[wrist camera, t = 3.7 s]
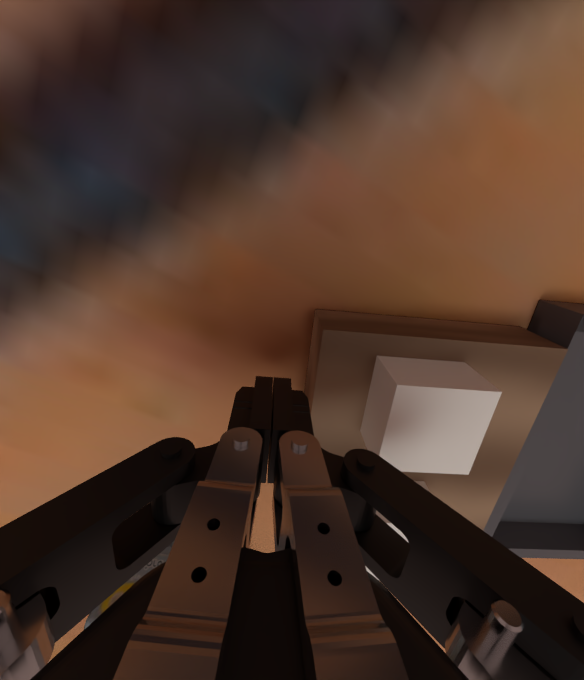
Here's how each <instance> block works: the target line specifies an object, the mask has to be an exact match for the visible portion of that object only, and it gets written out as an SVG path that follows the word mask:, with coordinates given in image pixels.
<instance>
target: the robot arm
mask: <svg viewBox="0 0 584 680" xmlns="http://www.w3.org/2000/svg"><path fill="white" fill-rule="evenodd" d="M272 384H273V392H272ZM268 454H269V457H268ZM267 464H268V482H267V483H274V491H273V500H272V509H273V524H274V540H275V552H272V553H262V552H259V551H256V550H253V549H250V542H251V536H252V530H253V524H254V518H255V512H256V505H257V498H258V496H259V493H260V485H261V483H266V474H267ZM148 503H149V504H148ZM138 510H139V511H138ZM376 511H378V512H379V513H380V514H381V515H383V516H384V517H385V518H386V519H387V520H388V521H389V522H391V523H392V524H393V525H394V526H395V527H396V528H398V529H399V530H400V531H401V532H402V533H403V534H404V535H405V537H406V538H407V540H408V542H409V543H408V542H407V541H406V540H405V539H404V538H403V537H402V536H400V535H399V534H398V533H397V532H396V531H395V530H394V529H392V528H391V527H390V526H389V525H388V524H387V523H386V522H384V521H383V520H382V519H381V518H380V517H379V516H378V515H377V514H376ZM135 512H136V513H135ZM125 519H126V520H125ZM173 542H174V543H173ZM171 543H173V546H172V548H171V551H170V553H169V556H168V558H167V561H166V562H164V563H162V564H160V565H159V566H157V567H155V568H154V569H152V570H151V571H149V572H148V573H147V574H145V575H144V576H143V577H141V578H140V579H139V580H138V581H137V582H136V583H134V584H133V585H132V586H131V587H130V588H129V589H128V590H127V591H126V592H125V593H124V594H123V595H121V596H120V597H119V598H118V599H117V600H116V601H115V602H114V603H113V604H112V605H111V606H109V607H108V608H107V609H106V610H105V611H104V612H103V613H102V614H101V615H100V616H99V617H98V618H96V619H95V620H94V621H93V622H92V623H91V624H90V625H89V626H88V627H87V628H86V629H84V630H83V631H82V632H81V633H80V634H79V635H78V636H77V637H76V638H75V639H74V640H73V641H71V642H70V643H69V644H68V645H67V646H66V647H65V648H64V649H63V650H62V651H61V652H59V653H58V654H57V655H56V656H55V657H54V658H53V659H52V660H51V661H50V662H49V663H48V661H49V660H50V657H51V655H52V652H53V648H54V644H55V642H56V641H58V640H59V639H60V638H61V637H62V636H63V635H65V634H66V633H67V632H68V631H69V630H71V629H72V628H73V627H74V626H75V625H76V624H78V623H79V622H80V621H81V620H82V619H83V618H85V617H86V616H87V615H88V614H89V613H90V612H92V611H93V610H94V609H95V608H96V607H97V606H99V605H100V604H101V603H102V602H103V601H105V600H106V599H107V598H108V597H109V596H110V595H112V594H113V593H114V592H115V591H116V590H117V589H119V588H120V587H121V586H122V585H123V584H124V583H126V582H127V581H128V580H129V579H130V578H131V577H133V576H134V575H135V574H136V573H137V572H139V571H140V570H141V569H142V568H143V567H144V566H146V565H147V564H148V563H149V562H150V561H151V560H153V559H154V558H155V557H156V556H157V555H158V554H160V553H161V552H162V551H163V550H164V549H165V548H167V547H168V546H169V545H170V544H171ZM365 566H366V567H367V568H368V569H369V570H370V571H371V572H372V573H373V574H374V575H375V576H376V577H377V578H378V579H379V580H380V581H379V580H378V579H376V578H375V577H374V576H373V575H372V574H370V573H369V572H367V570H366V567H365ZM389 591H390V592H391V593H392V594H393V595H394V596H395V597H396V598H397V599H398V600H399V601H400V602H401V603H402V605H403V606H404V607H405V608H406V609H407V610H408V611H409V612H410V613H411V614H412V615H413V616H414V617H415V618H416V619H417V620H418V621H419V622H420V623H421V624H422V625H423V626H424V628H425V629H426V630H427V631H428V632H429V633H430V634H431V635H432V636H433V637H434V638H435V639H436V640H437V641H438V642H439V643H440V644H441V645H442V646H443V647H444V648H445V650H446V653H445V652H444V651H443V650H442V649H441V648H440V647H439V646H438V645H437V644H436V642H435V641H434V640H433V639H432V638H431V637H430V636H429V635H428V634H427V632H426V631H425V630H424V629H423V628H422V627H421V626H420V625H419V624H418V623H417V621H416V620H415V619H414V618H413V617H412V616H411V615H410V614H409V613H408V611H407V610H406V609H405V608H404V607H403V606H402V605H401V604H400V603H399V602H398V600H397V599H396V598H395V597H394V596H393V595H392V594H391V593H390V592H389ZM47 663H48V664H47ZM0 680H584V603H583V602H581V601H580V600H579V599H577V598H576V597H575V596H573V595H572V594H570V593H569V592H568V591H566V590H565V589H563V588H562V587H561V586H559V585H558V584H556V583H555V582H554V581H552V580H551V579H550V578H548V577H547V576H545V575H544V574H543V573H541V572H540V571H538V570H537V569H536V568H534V567H533V566H531V565H530V564H529V563H527V562H526V561H525V560H523V559H522V558H520V557H519V556H518V555H516V554H515V553H513V552H512V551H511V550H509V549H508V548H506V547H505V546H504V545H502V544H501V543H500V542H498V541H497V540H495V539H494V538H493V537H491V536H490V535H488V534H487V533H486V532H484V531H483V530H481V529H480V528H479V527H477V526H476V525H475V524H473V523H472V522H470V521H469V520H468V519H466V518H465V517H463V516H462V515H461V514H459V513H458V512H456V511H455V510H454V509H452V508H451V507H450V506H448V505H447V504H445V503H444V502H443V501H441V500H440V499H438V498H437V497H436V496H434V495H433V494H431V493H430V492H429V491H427V490H426V489H425V488H423V487H422V486H420V485H419V484H418V483H416V482H415V481H413V480H412V479H411V478H409V477H408V476H406V475H405V474H404V473H402V472H401V471H400V470H398V469H397V468H395V467H394V466H393V465H391V464H390V463H388V462H387V461H386V460H384V459H383V458H381V457H380V456H379V455H377V454H376V453H374V452H372V451H369V450H366V449H352V450H350V451H348V452H347V453H346V454H345V456H344V457H342V456H339V455H336V454H332V453H330V452H328V451H326V450H324V449H323V448H321V446H320V443H319V441H318V440H317V438H316V437H314V432H313V426H312V420H311V414H310V408H309V401H308V397H307V396H306V395H305V394H304V393H303V391H297V390H292V388H291V379H289V378H275V377H274V382H273V377H261V376H256V380H255V387H242V388H241V389H240V390H239V391H238V392H237V393H236V396H235V400H234V404H233V408H232V413H231V417H230V421H229V425H228V430H227V431H226V432H225V433H224V434H223V435H222V436H221V438H220V441H219V442H217V443H215V444H213V445H210V446H207V447H201V448H196V449H195V447H194V445H193V443H192V442H191V441H189V440H187V439H185V438H179V437H172V438H167V439H163V440H161V441H159V442H157V443H155V444H153V445H151V446H149V447H148V448H146V449H144V450H142V451H140V452H138V453H137V454H135V455H133V456H131V457H129V458H127V459H126V460H124V461H122V462H120V463H118V464H116V465H115V466H113V467H111V468H109V469H107V470H105V471H104V472H102V473H100V474H98V475H96V476H94V477H93V478H91V479H89V480H87V481H85V482H83V483H81V484H80V485H78V486H76V487H74V488H72V489H70V490H69V491H67V492H65V493H63V494H61V495H59V496H58V497H56V498H54V499H52V500H50V501H48V502H47V503H45V504H43V505H41V506H39V507H37V508H36V509H34V510H32V511H30V512H28V513H26V514H25V515H23V516H21V517H19V518H17V519H15V520H14V521H12V522H10V523H8V524H6V525H4V526H3V527H1V528H0Z"/></svg>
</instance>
